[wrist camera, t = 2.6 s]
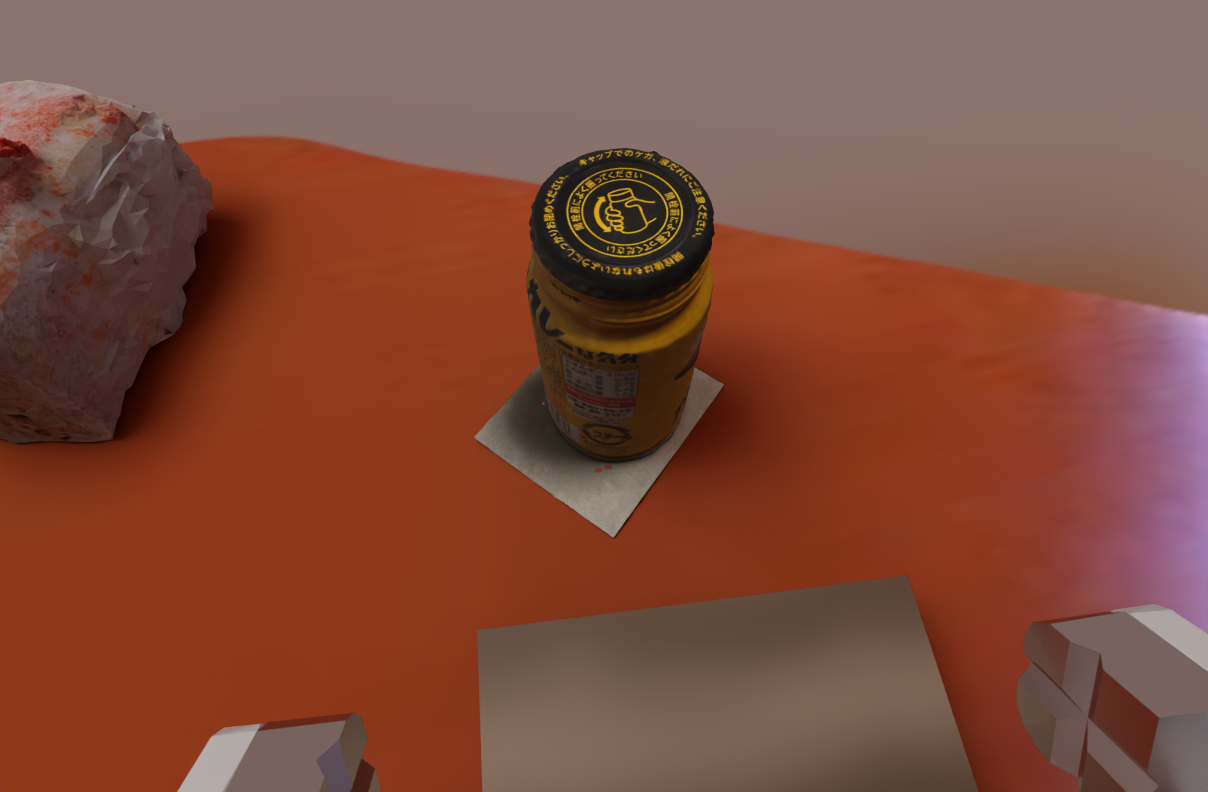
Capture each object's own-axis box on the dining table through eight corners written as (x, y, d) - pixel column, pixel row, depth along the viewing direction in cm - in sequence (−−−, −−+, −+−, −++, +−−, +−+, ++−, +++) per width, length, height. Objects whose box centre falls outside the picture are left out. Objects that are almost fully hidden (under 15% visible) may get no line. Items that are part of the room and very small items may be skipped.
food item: (97, 204, 34) (-79, 24, 25) (246, 210, 34) (120, 29, 25) (-31, 444, 28) (-324, 314, 19) (151, 452, 28) (-62, 325, 19)
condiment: (723, 386, 29) (790, 187, 18) (613, 539, 26) (617, 407, 15) (592, 308, 31) (583, 86, 20) (475, 440, 28) (392, 262, 17)
